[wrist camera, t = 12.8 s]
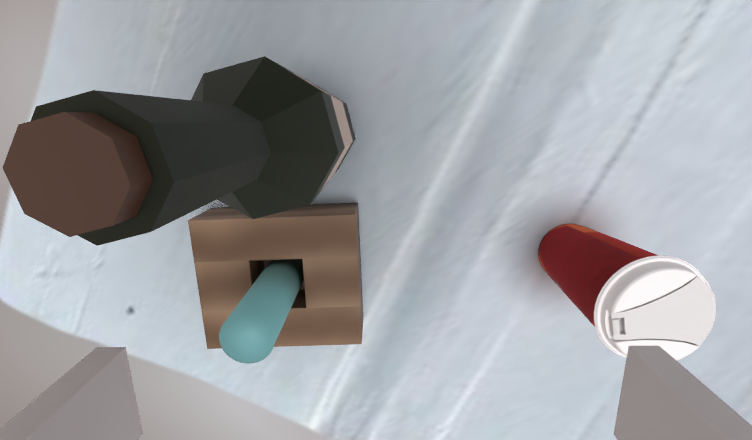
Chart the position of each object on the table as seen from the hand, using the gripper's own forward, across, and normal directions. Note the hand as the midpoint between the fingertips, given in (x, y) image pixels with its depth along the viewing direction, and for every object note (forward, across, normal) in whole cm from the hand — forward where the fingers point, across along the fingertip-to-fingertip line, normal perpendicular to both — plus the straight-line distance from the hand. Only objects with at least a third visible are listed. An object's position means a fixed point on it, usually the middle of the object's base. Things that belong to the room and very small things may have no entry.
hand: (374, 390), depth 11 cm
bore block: (+28, -9, -8) cm, 31 cm away
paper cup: (+29, +18, -6) cm, 35 cm away
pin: (+27, -9, -8) cm, 30 cm away
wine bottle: (+29, -6, +5) cm, 30 cm away
